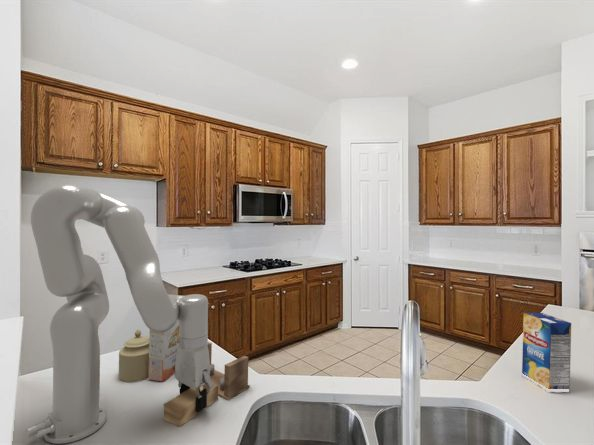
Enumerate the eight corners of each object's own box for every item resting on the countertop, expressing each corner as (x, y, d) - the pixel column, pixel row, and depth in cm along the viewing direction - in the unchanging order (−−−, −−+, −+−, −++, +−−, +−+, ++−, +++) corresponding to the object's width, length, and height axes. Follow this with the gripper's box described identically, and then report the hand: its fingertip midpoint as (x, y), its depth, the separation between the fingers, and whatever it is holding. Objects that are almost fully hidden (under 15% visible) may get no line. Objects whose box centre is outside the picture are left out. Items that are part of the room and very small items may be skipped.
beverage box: (549, 393, 98) (550, 323, 97) (521, 375, 109) (523, 312, 108) (569, 393, 98) (571, 323, 98) (540, 375, 109) (542, 312, 109)
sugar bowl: (129, 362, 113) (130, 320, 113) (162, 360, 115) (162, 319, 115) (112, 383, 98) (113, 336, 98) (150, 381, 100) (150, 334, 100)
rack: (227, 400, 90) (228, 367, 90) (185, 378, 102) (186, 349, 102) (249, 387, 97) (250, 356, 97) (208, 368, 109) (208, 341, 109)
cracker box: (164, 382, 99) (165, 317, 99) (147, 380, 100) (148, 315, 100) (187, 363, 113) (189, 305, 113) (172, 361, 114) (174, 304, 114)
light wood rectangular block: (179, 426, 78) (180, 410, 78) (163, 419, 81) (163, 404, 81) (218, 399, 91) (218, 385, 91) (202, 393, 94) (202, 380, 94)
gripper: (163, 337, 88) (162, 400, 88) (202, 353, 78) (201, 424, 78) (186, 329, 94) (185, 388, 94) (225, 343, 84) (224, 410, 84)
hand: (192, 404), depth 86 cm, fingers closed on light wood rectangular block, 6 cm apart
